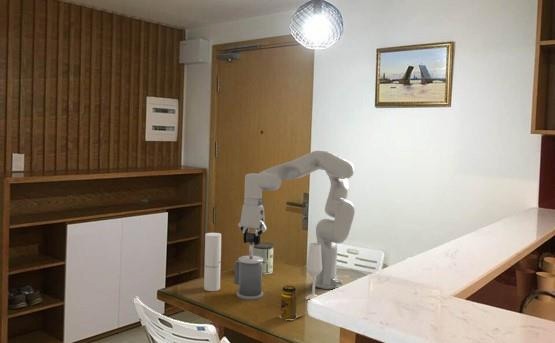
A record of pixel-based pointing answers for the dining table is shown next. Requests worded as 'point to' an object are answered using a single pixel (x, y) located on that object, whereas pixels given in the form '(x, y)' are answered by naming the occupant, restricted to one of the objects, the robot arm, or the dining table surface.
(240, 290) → the press housing
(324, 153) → the robot arm
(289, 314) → the condiment
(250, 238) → the plunger
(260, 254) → the coffee can
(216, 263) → the cylindrical container
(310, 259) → the champagne flute
